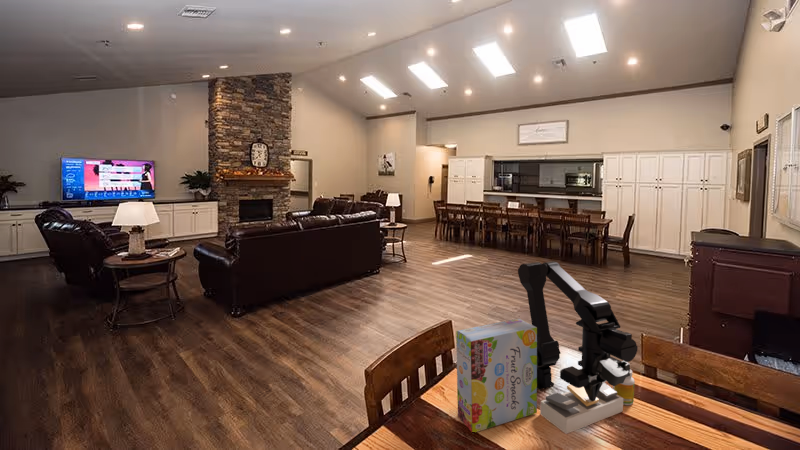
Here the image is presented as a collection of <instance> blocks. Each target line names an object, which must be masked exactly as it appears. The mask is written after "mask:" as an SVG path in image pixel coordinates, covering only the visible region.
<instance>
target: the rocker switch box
mask: <svg viewBox="0 0 800 450" xmlns="http://www.w3.org/2000/svg"><path fill="white" fill-rule="evenodd" d="M560 394H561V395H564V396H566V397H568V398H570V399H573V400H575V401H577V402H578V406H576V407H573V408H570V409H567V410H565V409H563V408H561V407H559V406H557V405H555V404H553V403H551V402H549V401H547V400H546V399H543V400H540V409H539V410H540V411H539V414H540V415H541V416H542V417H543V418H545V420H547V421H548V422H550V423H551V424H553V425H554V426H555V427H556V428H558V429H559V430H560V431H561V432H563V433H564V434H566V435H568V434H569V433H572V432H574V431H577V430H580V429H581V428H584V427H588V426H590V425H592V424H595V423H597V422H600V421H601V420H602V421H603V420H604V419H607V418H610V417H612V416H615V415H617V414H620V413H622V412H623V409H624V405H623V398H622V397H620V396H618V395H615V396H613V397H610V398H607V399H606V398H604V397H603V396H602V395H600V394H599V393H598V394H597V398H598V399H599V401H598V403H595V404H592V405H589V406H586V405H585V404H584V403H582V402H581V401H580V400H579V399H578V398H577V397H576V396H575V395H574V394H572V393H571V392H570V391H569V390H568V391H567V392H564V393H560Z"/></svg>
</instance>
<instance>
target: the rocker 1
mask: <svg viewBox="0 0 800 450" xmlns="http://www.w3.org/2000/svg"><path fill="white" fill-rule="evenodd" d="M561 394H562V393H558V392H555V393H552V394H549V395H547V396H545V400H547V401H549V402H551V403H553V404H555V405H557V406H559V407H561V408H563V409H565V410H567V409H570V408H573V407H576V406H578V402H577V401H575V400H573V399H570V398H568V397H566V396H564V395H561Z"/></svg>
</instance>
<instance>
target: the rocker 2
mask: <svg viewBox="0 0 800 450" xmlns="http://www.w3.org/2000/svg"><path fill="white" fill-rule="evenodd" d="M598 393H599V394H600V395H602V396H603V397H604V398H606V399H607V398H610V397H613V396H615V395H617V391H615V390H614V389H613V387H611V385H609V384H607V383H606V382H604V383H603V384H602V386H601V388H600V390H599V392H598Z"/></svg>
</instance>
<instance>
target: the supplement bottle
mask: <svg viewBox="0 0 800 450" xmlns="http://www.w3.org/2000/svg"><path fill="white" fill-rule="evenodd" d="M612 388H613V389H614V390H615V391H617V395H618V396H620V397H622V398H623V406H631V405H633V404H634V400H635V399H634V398H635V378H634V377H633V370H632V369H631V368H630V376H628V377H626V378H625V380H624V382H623V383H622V384H621V383H620V384H618V385H616V386H612Z"/></svg>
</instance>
